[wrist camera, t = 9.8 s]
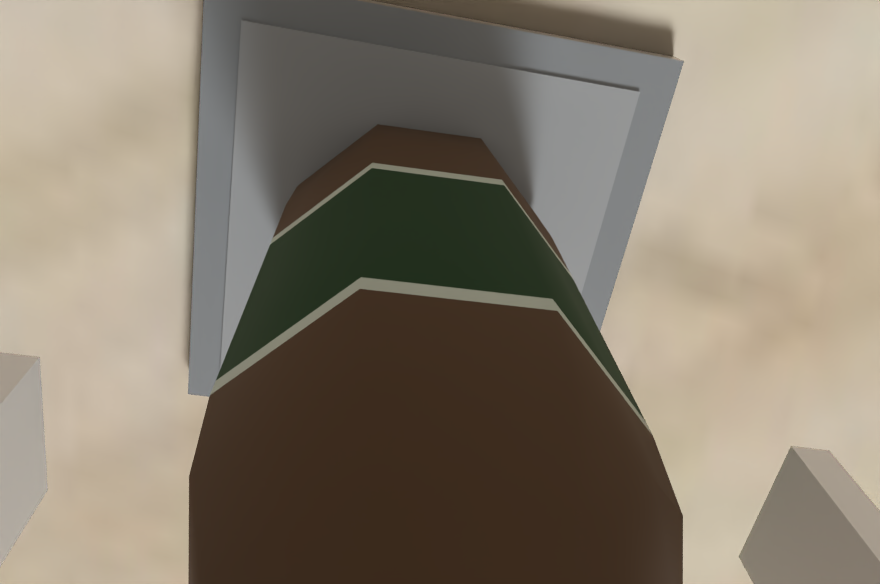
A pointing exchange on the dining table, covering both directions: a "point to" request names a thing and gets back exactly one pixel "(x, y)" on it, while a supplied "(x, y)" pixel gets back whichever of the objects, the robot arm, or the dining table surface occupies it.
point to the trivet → (414, 107)
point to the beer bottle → (423, 396)
